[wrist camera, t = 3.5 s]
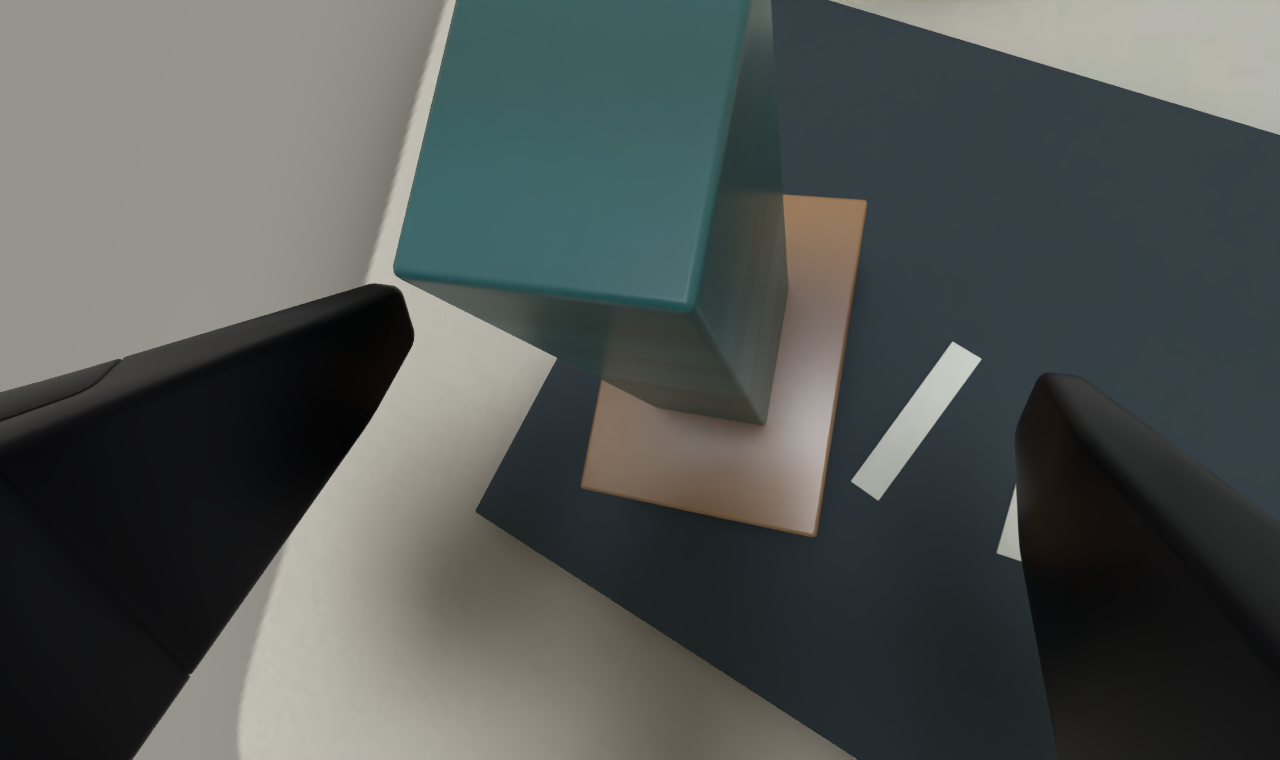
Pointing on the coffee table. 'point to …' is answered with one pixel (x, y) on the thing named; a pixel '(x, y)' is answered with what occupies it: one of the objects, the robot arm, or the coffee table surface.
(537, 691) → the coffee table surface
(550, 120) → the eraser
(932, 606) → the slate mat
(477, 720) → the coffee table surface
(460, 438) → the coffee table surface
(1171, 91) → the coffee table surface
